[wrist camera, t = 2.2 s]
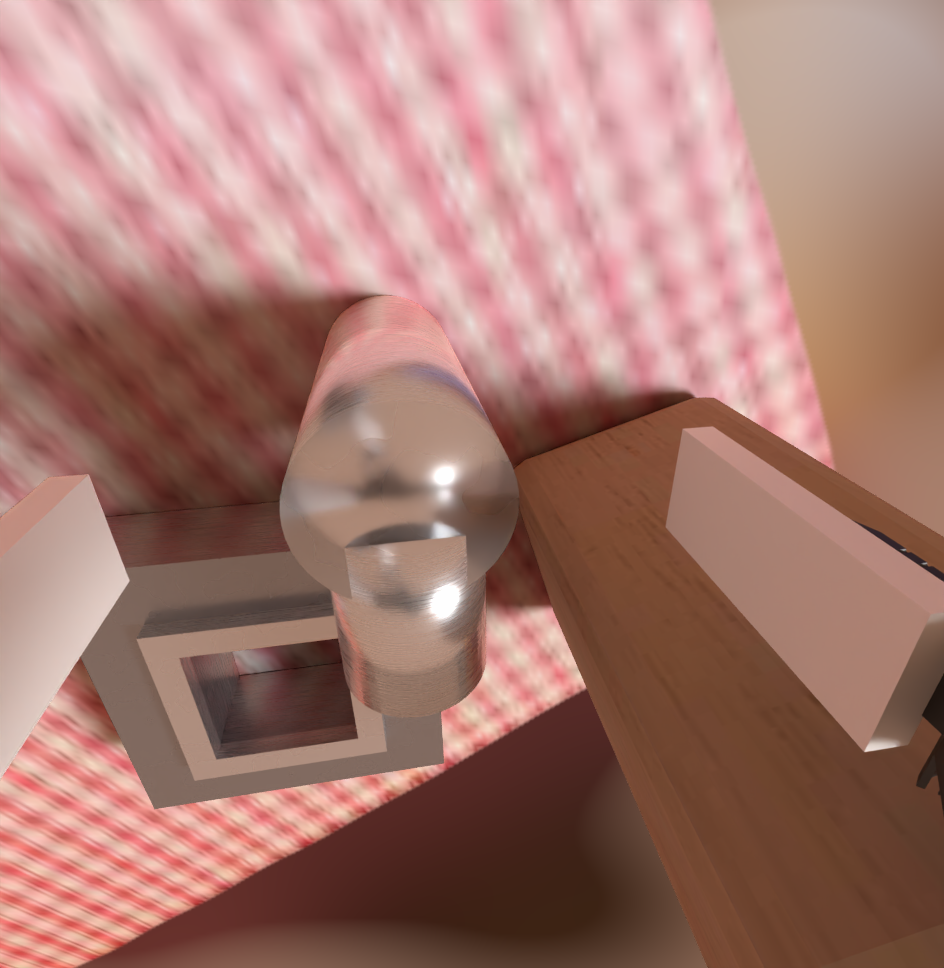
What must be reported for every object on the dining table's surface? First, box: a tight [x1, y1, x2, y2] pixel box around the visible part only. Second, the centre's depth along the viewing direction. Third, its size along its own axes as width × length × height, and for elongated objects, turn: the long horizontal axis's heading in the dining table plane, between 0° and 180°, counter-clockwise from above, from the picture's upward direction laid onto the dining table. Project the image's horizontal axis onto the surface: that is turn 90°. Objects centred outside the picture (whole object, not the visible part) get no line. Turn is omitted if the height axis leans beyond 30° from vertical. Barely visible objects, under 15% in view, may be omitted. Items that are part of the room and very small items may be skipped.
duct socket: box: [80, 501, 444, 809], centre depth 25 cm, size 14×14×5 cm
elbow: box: [279, 295, 519, 718], centre depth 17 cm, size 8×5×12 cm, turn 1°
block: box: [514, 398, 944, 968], centre depth 19 cm, size 10×10×20 cm
